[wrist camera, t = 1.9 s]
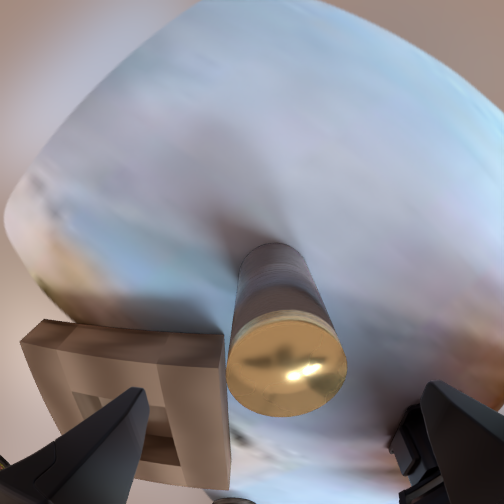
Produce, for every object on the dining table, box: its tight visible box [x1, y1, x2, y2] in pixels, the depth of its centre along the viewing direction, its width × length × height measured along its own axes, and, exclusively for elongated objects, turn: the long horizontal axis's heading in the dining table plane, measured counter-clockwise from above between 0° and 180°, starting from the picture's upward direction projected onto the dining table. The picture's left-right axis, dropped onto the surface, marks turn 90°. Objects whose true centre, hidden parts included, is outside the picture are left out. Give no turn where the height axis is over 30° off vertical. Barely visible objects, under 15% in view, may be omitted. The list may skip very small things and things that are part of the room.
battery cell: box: [226, 243, 347, 417], centre depth 14 cm, size 4×4×9 cm
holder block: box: [20, 319, 231, 490], centre depth 20 cm, size 14×14×4 cm
